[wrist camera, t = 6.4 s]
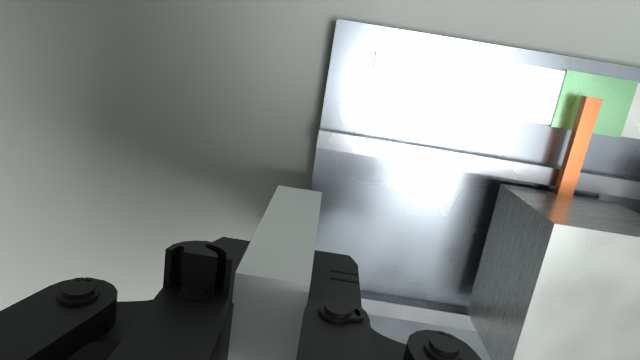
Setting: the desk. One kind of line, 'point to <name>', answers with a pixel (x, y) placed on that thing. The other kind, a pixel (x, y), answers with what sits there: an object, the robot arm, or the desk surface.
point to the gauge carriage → (560, 269)
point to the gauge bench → (452, 159)
